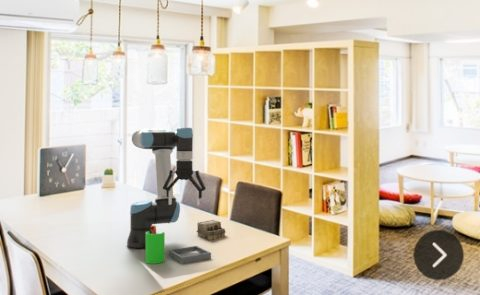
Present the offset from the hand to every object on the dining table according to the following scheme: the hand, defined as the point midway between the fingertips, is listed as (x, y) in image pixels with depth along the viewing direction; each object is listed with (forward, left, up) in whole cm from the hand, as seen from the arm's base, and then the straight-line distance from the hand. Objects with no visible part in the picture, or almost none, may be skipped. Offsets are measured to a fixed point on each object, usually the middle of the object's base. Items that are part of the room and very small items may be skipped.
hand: (184, 204), depth 194 cm
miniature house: (-31, +31, -29) cm, 53 cm away
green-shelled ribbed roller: (-13, -10, -29) cm, 33 cm away
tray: (-10, +8, -29) cm, 31 cm away
